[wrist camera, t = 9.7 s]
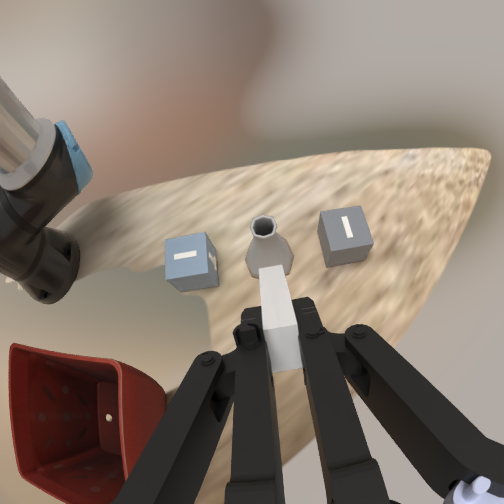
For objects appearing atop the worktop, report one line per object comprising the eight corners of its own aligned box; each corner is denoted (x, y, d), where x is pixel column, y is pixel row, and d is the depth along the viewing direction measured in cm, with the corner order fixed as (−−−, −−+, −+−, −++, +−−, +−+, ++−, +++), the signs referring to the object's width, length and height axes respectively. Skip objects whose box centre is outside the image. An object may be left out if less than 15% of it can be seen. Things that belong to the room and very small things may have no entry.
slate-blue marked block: (180, 292, 43) (165, 279, 37) (179, 256, 45) (164, 239, 39) (219, 286, 42) (209, 272, 37) (216, 249, 45) (206, 231, 39)
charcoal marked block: (326, 267, 41) (331, 250, 36) (317, 231, 44) (320, 211, 38) (364, 260, 41) (375, 243, 35) (354, 225, 43) (362, 204, 38)
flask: (245, 238, 45) (233, 203, 36) (291, 235, 44) (291, 198, 35) (245, 283, 42) (232, 256, 33) (295, 279, 41) (297, 252, 32)
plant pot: (87, 461, 32) (17, 476, 17) (83, 358, 40) (8, 341, 24) (190, 486, 30) (137, 533, 15) (185, 367, 38) (122, 359, 22)
